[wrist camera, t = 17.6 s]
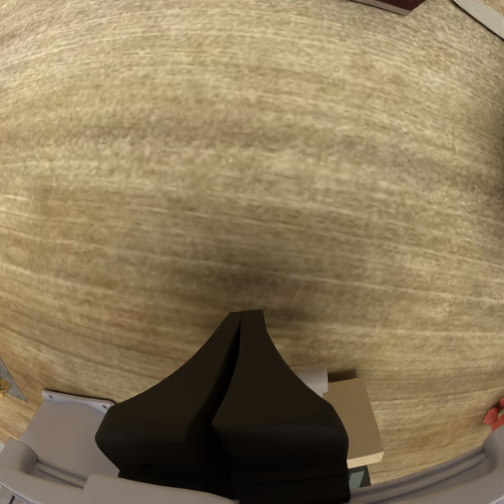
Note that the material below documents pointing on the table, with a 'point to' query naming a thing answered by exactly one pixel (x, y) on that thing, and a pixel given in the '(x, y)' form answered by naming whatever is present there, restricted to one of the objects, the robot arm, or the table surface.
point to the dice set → (8, 383)
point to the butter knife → (484, 15)
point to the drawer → (348, 417)
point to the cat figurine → (494, 417)
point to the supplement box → (395, 5)
